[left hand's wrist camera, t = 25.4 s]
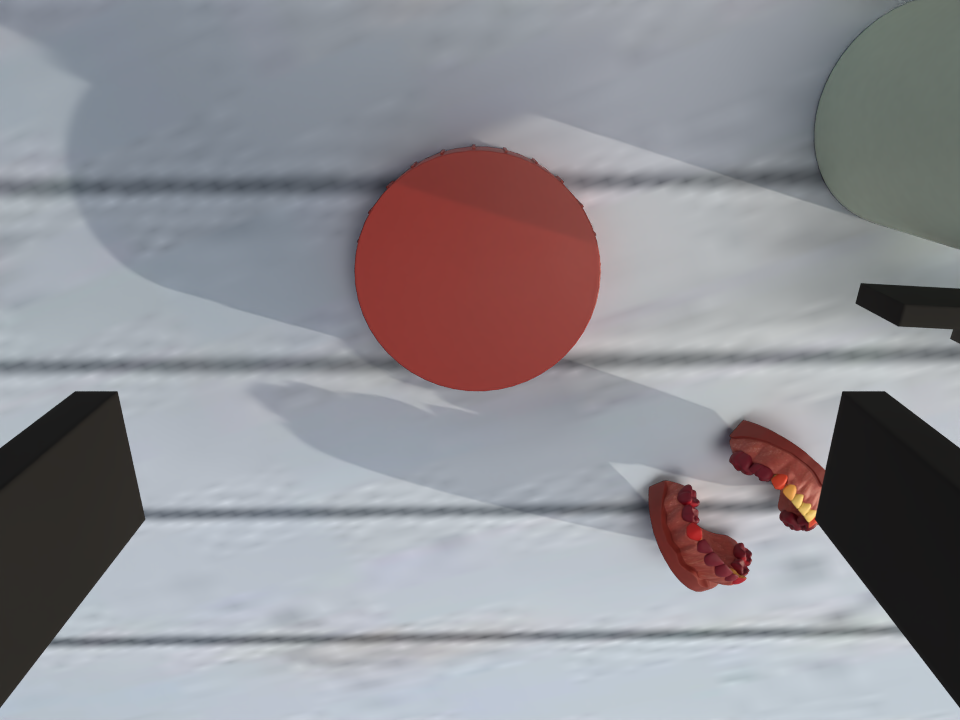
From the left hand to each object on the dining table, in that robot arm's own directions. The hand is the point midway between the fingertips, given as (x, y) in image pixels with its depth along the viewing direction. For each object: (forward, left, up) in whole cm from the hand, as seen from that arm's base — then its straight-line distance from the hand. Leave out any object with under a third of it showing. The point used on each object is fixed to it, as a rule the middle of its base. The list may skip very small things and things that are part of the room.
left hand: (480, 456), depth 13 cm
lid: (0, 0, -16) cm, 16 cm away
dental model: (+9, +14, -18) cm, 24 cm away
